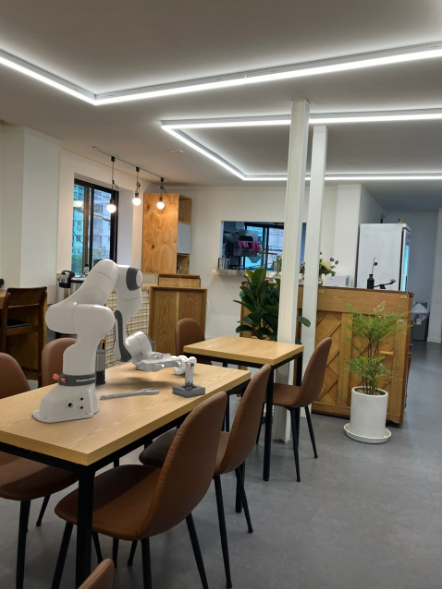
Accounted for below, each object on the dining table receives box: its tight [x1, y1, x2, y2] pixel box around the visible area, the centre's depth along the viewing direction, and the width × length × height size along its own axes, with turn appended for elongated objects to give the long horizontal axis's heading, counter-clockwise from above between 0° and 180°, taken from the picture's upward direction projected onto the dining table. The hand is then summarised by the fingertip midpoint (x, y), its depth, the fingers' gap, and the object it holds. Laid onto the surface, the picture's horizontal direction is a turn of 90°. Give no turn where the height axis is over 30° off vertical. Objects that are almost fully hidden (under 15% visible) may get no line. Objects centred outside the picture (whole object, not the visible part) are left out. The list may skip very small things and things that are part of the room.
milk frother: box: [95, 348, 107, 386], centre depth 211 cm, size 14×16×15 cm
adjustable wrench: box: [99, 387, 160, 401], centre depth 192 cm, size 25×6×2 cm, turn 119°
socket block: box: [171, 383, 206, 398], centre depth 197 cm, size 10×10×2 cm
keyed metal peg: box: [184, 362, 195, 389], centre depth 197 cm, size 4×5×13 cm
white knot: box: [172, 355, 197, 376], centre depth 233 cm, size 11×12×9 cm
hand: (171, 366), depth 206 cm, fingers open, 8 cm apart
